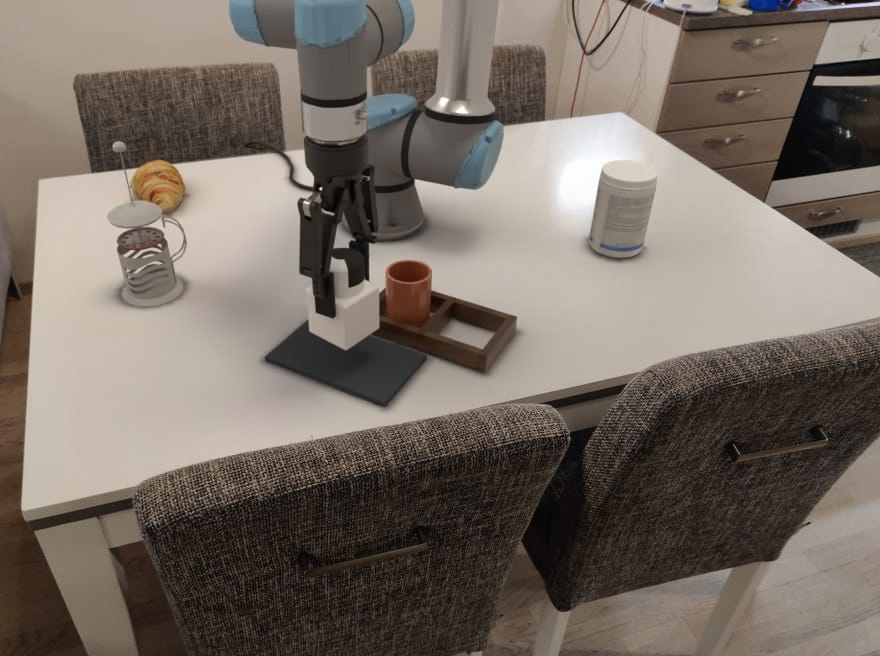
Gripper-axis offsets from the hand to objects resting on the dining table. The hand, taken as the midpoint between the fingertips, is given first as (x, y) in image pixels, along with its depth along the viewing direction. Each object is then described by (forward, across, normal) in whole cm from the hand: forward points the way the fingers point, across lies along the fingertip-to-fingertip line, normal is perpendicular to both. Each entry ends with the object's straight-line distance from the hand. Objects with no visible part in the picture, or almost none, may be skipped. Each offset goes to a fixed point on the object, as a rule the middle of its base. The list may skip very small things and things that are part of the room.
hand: (343, 299), depth 98 cm
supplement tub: (+11, +53, -24) cm, 59 cm away
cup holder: (+10, +13, -8) cm, 19 cm away
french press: (+11, +1, +37) cm, 39 cm away
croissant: (+11, +27, +62) cm, 68 cm away
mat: (+10, 0, 0) cm, 10 cm away
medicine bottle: (+5, 0, 0) cm, 5 cm away
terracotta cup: (+10, +13, -3) cm, 17 cm away
